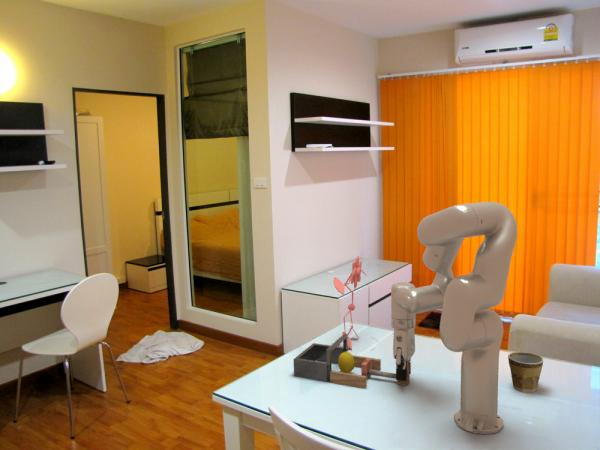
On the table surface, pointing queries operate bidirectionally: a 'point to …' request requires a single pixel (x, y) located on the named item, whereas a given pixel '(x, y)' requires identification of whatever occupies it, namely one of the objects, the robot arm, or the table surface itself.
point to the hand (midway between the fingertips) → (403, 376)
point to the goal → (309, 358)
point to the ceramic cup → (525, 370)
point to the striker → (367, 372)
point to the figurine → (340, 287)
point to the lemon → (346, 362)
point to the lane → (353, 378)
